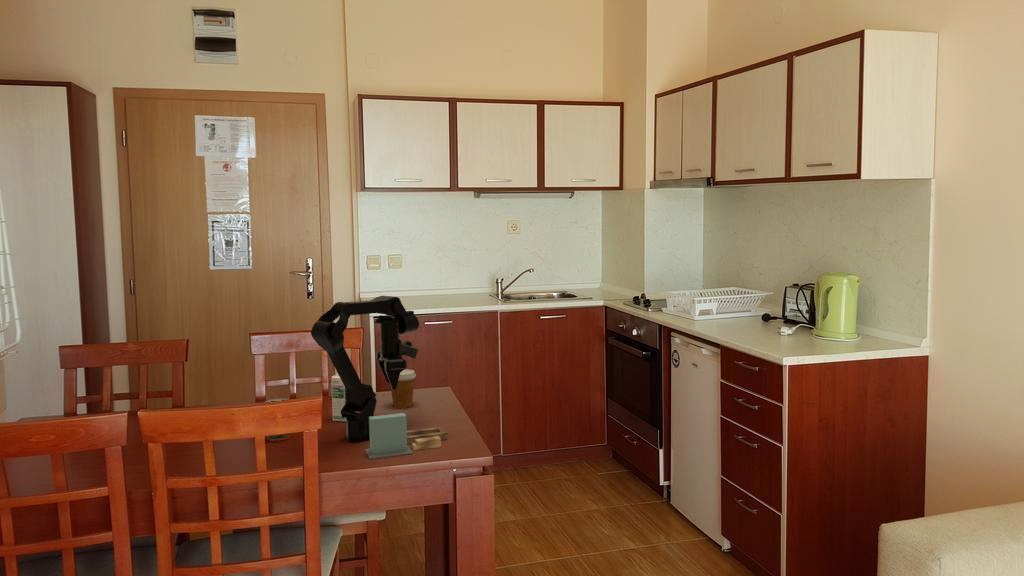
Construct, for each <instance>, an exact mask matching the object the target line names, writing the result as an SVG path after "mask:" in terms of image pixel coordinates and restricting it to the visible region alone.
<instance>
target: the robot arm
mask: <svg viewBox="0 0 1024 576" xmlns="http://www.w3.org/2000/svg"><path fill="white" fill-rule="evenodd" d="M400 298H401V297H398V296H391V295H380V296H377V297H374V298H373V299H370V300H358V301H346V302H343V301H337V302H335V303H334V304H333V305H332V307H331V308H330V309H329V310H327V311H325V313H323V314H322V315H321V316H320V317H318V319H317V321H316V322H314V324H313V325H312V326H311V330H310V335H311V337H312V339H313V341H315V343H316V344H317V345H318V346H320V348H321V349H323V351H325V352H326V353H327V354H328V357H329V359H330V360H331V363H332V365H333V367H334V368H335V370H336V372H337V373H336V374H339V376H340V378H341V380H342V382H343V384H344V386H345V388H346V395H345V398H346V401H347V402H346V403H345V405H344V407H343V408H342V410H341V412H340V413H341V415H342V417H343V418H346V421H345V422H346V433H345V438H346V439H347V441H348V442H349V443H353V442H360V441H361V442H362V441H370V435H369V417H372V416H375V415H374V414H375V411H376V407H377V406H376V405H377V402H378V400H377V396H378V395H377V394H376V393H375V391H374V388H373V386H372V385H371V384H365V383H363V382H362V380H361V379H360V377H359V374H358V372H357V370H356V369H355V366H354V365H353V362H352V361H351V359H350V357H349V355H348V352H347V350H346V349H345V347H344V344H345V343H344V342H345V336H344V332H345V330H346V329H347V328H348V323H349V319H350V317H351V316H359V315H360V316H361V315H369V314H380V315H379V316H378V318H376V319H375V320H374V323H375V324H379V327H380V328H379V330H380V338H379V343H380V348H379V349H377V350H376V351H375V359H376V362H377V364H378V366H379V368H380V371H381V373H382V375H383V377H384V380H385V382H386V383H387V384H389V385H390V384H391V386H392V389H396V388H397V384H398V379H399V376H400V373H401V372H402V371H403V370H405V369H408V368H407V367H408V365H407V361H406V359H404V358H403V357H404V356H406V357H409V358H411V359H414V360H415V359H416V358H417V356H418V352H419V349H418V348H417V347H416V346H414V345H413V343H412V342H411V341H410V340H409V341H408V340H405V341H404V342H402V340H401V339H400V335H403V334H408V333H413V332H416V331H418V329H419V327H420V322H419V319H418V317H417V315H415V311H414V310H407V309H406V308H405V307H404V305H403V303H402V301H401V299H400ZM337 319H338V320H337ZM336 320H337V321H336ZM334 321H336V322H334ZM391 386H390V387H391Z"/></svg>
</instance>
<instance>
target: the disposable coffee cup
mask: <svg viewBox="0 0 1024 576" xmlns="http://www.w3.org/2000/svg"><path fill="white" fill-rule="evenodd" d="M416 376H417V374H416V373H415V370H414V369H408V368H405V370H403V371H402V372H401V373H400V376H399V379H398V384H397V388H396V389H392V386H391V384H390V383H389V385H390V391H391V392H390V393H391V399H392V405H393V408H395V409H408V408H407V407H409V408H411V407H412V406H413V398H414V390H415V388H414V387H415V379H416Z"/></svg>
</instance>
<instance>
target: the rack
mask: <svg viewBox="0 0 1024 576" xmlns="http://www.w3.org/2000/svg"><path fill="white" fill-rule="evenodd" d="M434 436H439V437H440V438H441V441H445V440H447V441H448V438H449V437H448V436H449V435H448V432H447V430H445V428H444V427H443V426H438V427H428V428H422V429H421V428H419V429H413V430H412V429H411V430H407V444H408V445H412V443H415V439H420V438H427V437H434Z"/></svg>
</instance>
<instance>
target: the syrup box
mask: <svg viewBox="0 0 1024 576" xmlns="http://www.w3.org/2000/svg"><path fill="white" fill-rule="evenodd" d="M330 383H331V398H332V399H331V404H332V407H331V408H332V421H334V422H335V421H336V422H337V421H338V422H346V418H343V417H342V415H341V413H340V412H341V410H342V408H343V407H344V405H345V403H346V402H347V401H346V398H345V395H346V388H345V386H344V384H343V382H342V380H341V378H340V376H339V374H338V373H336V374H334V375H332V376H331V377H330Z"/></svg>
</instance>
